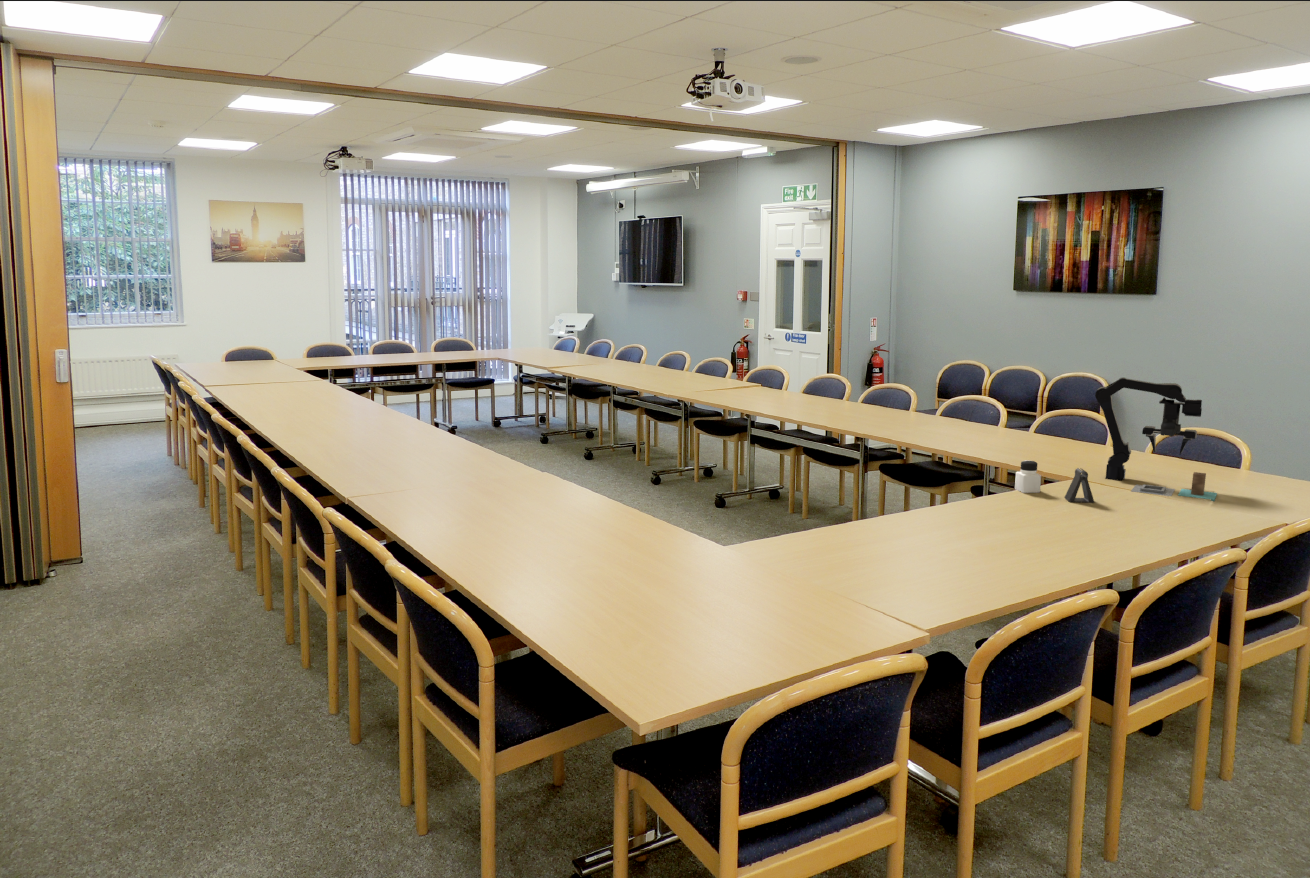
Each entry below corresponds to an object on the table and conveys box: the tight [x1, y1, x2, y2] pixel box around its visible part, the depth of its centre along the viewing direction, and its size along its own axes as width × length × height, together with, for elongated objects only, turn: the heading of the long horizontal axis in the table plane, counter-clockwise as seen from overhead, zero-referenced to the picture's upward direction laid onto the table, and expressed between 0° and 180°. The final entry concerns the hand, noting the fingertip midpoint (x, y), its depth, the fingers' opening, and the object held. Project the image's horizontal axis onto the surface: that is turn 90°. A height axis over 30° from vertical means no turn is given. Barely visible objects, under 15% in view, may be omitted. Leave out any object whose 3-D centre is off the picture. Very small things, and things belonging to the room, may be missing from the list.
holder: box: [1130, 484, 1176, 497], centre depth 359 cm, size 14×14×2 cm
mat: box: [1177, 488, 1218, 502], centre depth 352 cm, size 12×12×1 cm
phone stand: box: [1064, 467, 1095, 504], centre depth 345 cm, size 9×6×12 cm, turn 81°
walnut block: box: [1190, 471, 1207, 496], centre depth 351 cm, size 4×4×8 cm
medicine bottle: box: [1014, 459, 1042, 494], centre depth 360 cm, size 7×7×12 cm
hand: (1167, 453), depth 368 cm, fingers open, 9 cm apart
